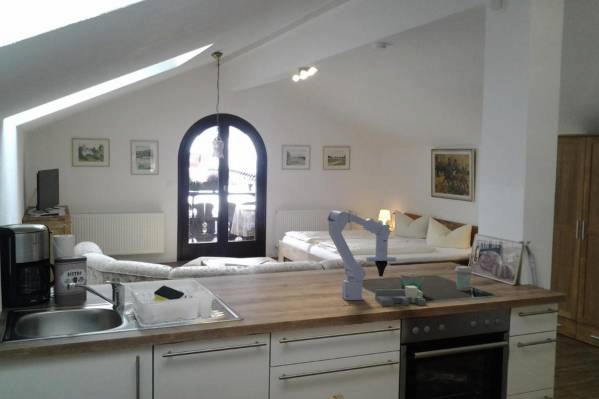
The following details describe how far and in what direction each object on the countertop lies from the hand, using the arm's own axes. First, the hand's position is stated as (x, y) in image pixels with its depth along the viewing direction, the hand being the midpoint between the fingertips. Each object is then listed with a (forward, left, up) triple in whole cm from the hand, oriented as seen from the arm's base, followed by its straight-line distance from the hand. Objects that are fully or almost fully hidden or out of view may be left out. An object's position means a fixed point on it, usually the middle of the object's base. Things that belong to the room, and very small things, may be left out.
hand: (380, 276), depth 276 cm
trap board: (+6, -13, -10) cm, 17 cm away
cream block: (+12, -11, -8) cm, 18 cm away
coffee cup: (+48, +11, -10) cm, 50 cm away
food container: (+17, 0, -10) cm, 20 cm away
